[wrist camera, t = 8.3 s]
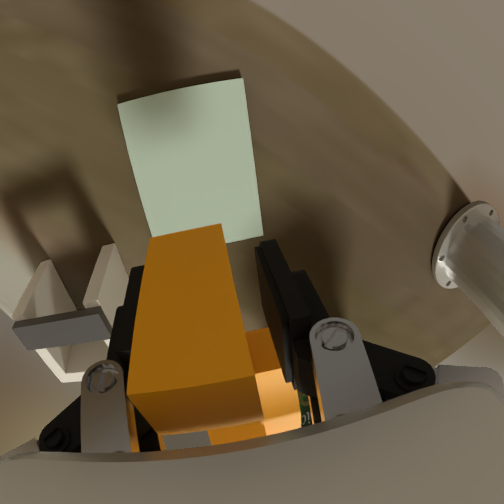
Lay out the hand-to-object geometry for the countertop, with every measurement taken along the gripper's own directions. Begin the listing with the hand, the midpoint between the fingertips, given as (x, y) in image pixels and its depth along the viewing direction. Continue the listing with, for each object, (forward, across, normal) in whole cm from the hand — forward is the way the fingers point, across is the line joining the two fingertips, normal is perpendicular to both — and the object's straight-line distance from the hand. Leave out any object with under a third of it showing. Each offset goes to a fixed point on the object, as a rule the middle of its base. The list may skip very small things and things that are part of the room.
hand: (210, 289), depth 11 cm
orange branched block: (+1, 0, +4) cm, 4 cm away
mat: (+15, 0, 0) cm, 15 cm away
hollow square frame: (+14, +12, +8) cm, 21 cm away
